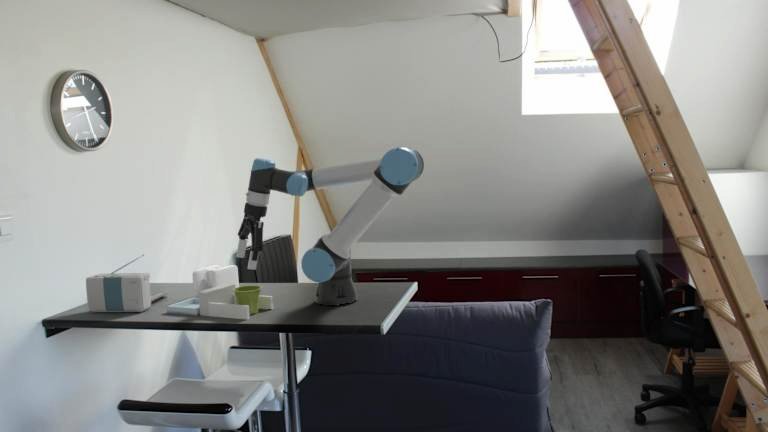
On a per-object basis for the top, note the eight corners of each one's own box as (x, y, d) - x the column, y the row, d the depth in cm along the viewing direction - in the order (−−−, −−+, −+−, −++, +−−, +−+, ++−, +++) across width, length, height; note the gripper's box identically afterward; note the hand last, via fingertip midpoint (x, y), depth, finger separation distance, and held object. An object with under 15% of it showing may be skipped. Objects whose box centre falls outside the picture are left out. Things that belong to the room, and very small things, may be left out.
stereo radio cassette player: (87, 314, 209) (82, 258, 207) (101, 308, 217) (96, 254, 215) (142, 313, 206) (137, 257, 204) (154, 307, 214) (150, 253, 212)
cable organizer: (215, 302, 219) (212, 271, 218) (192, 300, 223) (190, 270, 222) (239, 293, 233) (238, 264, 232) (218, 291, 237) (216, 263, 236)
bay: (273, 308, 204) (272, 286, 204) (247, 319, 191) (245, 295, 191) (227, 305, 213) (226, 283, 212) (200, 315, 200) (198, 292, 199)
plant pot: (260, 316, 195) (258, 290, 195) (231, 317, 195) (230, 291, 194) (265, 309, 205) (263, 284, 204) (238, 310, 205) (236, 285, 204)
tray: (223, 306, 211) (222, 299, 211) (196, 315, 199) (196, 308, 199) (194, 304, 217) (194, 297, 217) (167, 313, 205) (166, 306, 205)
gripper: (235, 195, 209) (225, 252, 212) (257, 210, 188) (245, 273, 191) (256, 197, 213) (245, 253, 216) (279, 213, 192) (267, 274, 195)
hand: (245, 263), depth 204 cm, fingers open, 13 cm apart
